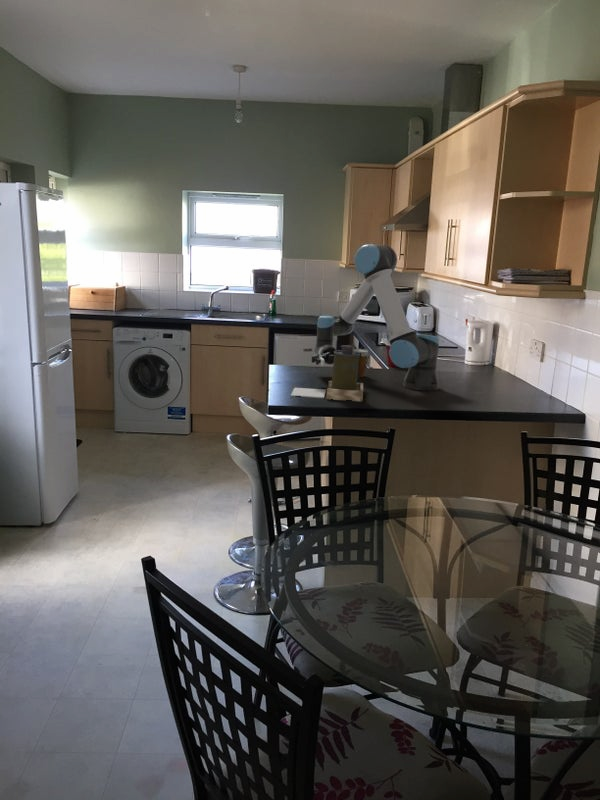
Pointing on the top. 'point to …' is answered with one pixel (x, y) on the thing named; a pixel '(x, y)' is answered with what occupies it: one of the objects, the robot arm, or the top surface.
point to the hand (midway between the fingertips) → (339, 363)
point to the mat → (308, 392)
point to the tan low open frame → (345, 393)
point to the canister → (346, 368)
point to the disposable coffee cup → (362, 360)
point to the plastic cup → (388, 354)
